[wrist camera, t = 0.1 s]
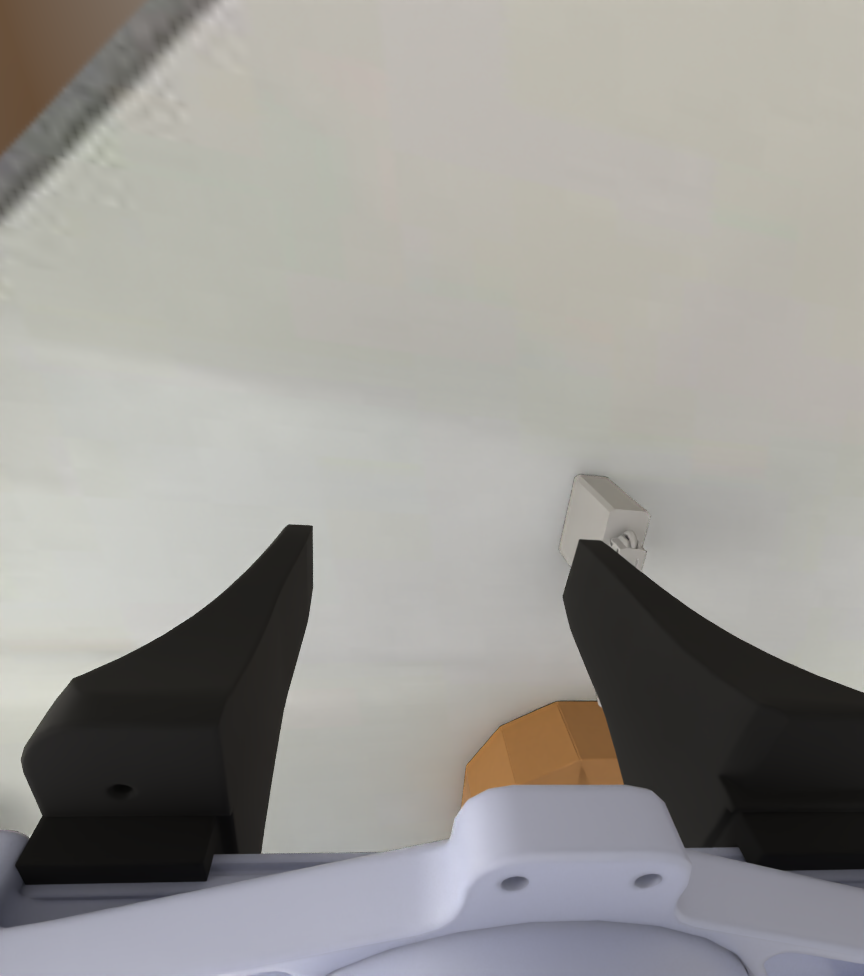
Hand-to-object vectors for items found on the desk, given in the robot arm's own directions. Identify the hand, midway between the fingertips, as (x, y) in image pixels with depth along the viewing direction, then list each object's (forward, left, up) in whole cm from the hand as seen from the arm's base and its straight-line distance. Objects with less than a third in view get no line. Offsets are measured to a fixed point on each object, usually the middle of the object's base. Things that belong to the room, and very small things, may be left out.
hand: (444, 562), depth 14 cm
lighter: (+2, -9, -11) cm, 14 cm away
